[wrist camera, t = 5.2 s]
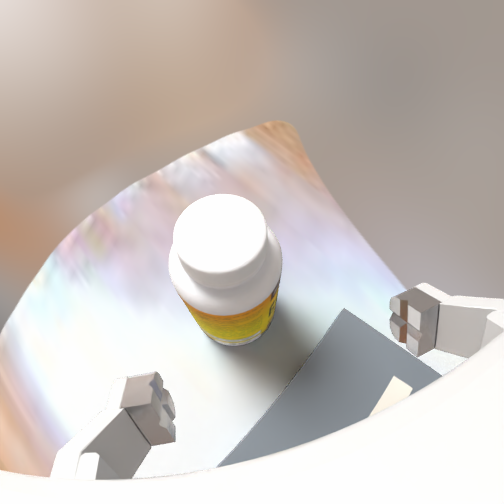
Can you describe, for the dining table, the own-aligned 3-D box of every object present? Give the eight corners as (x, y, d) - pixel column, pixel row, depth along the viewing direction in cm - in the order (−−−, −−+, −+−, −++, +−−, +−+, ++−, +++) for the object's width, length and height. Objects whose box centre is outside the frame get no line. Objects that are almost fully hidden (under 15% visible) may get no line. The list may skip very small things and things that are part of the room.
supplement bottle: (279, 342, 20) (299, 285, 11) (199, 350, 20) (151, 300, 11) (268, 269, 23) (275, 174, 14) (194, 277, 22) (157, 187, 13)
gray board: (505, 429, 15) (516, 427, 13) (417, 565, 9) (426, 571, 8) (338, 314, 21) (344, 307, 19) (214, 469, 16) (210, 474, 14)
